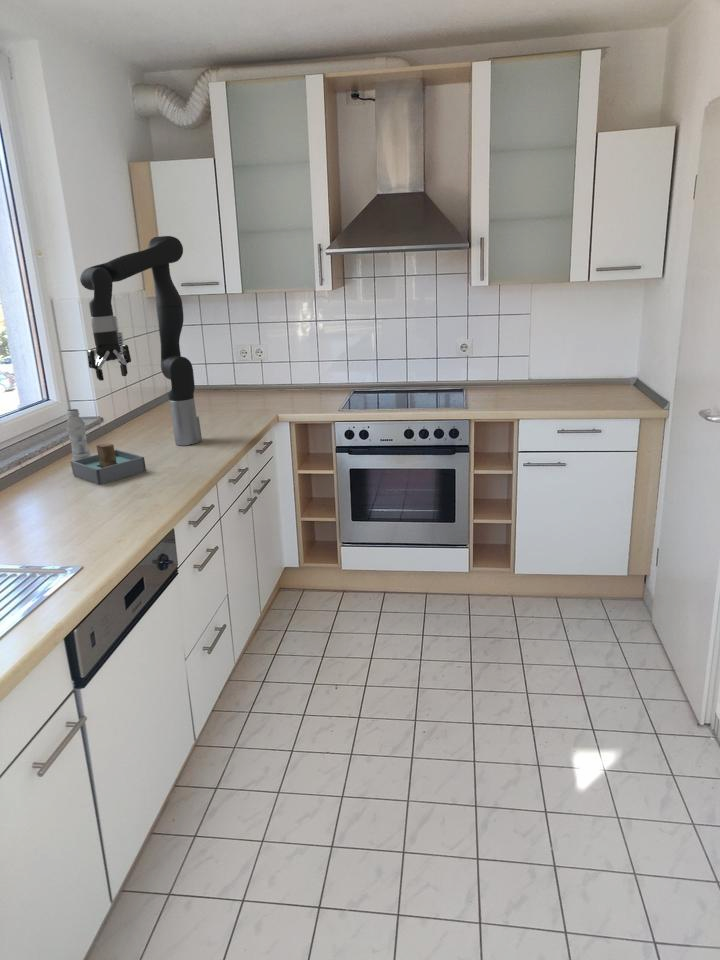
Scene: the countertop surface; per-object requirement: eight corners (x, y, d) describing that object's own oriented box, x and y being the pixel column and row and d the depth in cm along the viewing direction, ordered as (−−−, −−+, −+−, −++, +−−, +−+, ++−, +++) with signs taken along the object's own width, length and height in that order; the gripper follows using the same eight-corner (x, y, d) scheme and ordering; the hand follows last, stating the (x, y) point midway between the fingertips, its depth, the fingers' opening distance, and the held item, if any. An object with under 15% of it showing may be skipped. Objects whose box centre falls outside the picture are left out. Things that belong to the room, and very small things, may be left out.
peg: (112, 471, 241) (107, 442, 238) (118, 473, 238) (113, 444, 235) (101, 474, 238) (96, 445, 235) (107, 476, 236) (102, 447, 233)
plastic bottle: (72, 469, 246) (61, 413, 240) (74, 464, 252) (64, 409, 246) (92, 466, 247) (81, 411, 241) (93, 461, 254) (83, 407, 247)
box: (119, 463, 250) (116, 449, 248) (146, 471, 238) (143, 457, 237) (73, 475, 238) (70, 461, 237) (99, 484, 226) (96, 470, 225)
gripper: (118, 327, 243) (126, 374, 248) (79, 332, 233) (88, 380, 238) (129, 327, 238) (137, 375, 243) (90, 333, 228) (98, 382, 233)
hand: (112, 378), depth 241 cm, fingers open, 8 cm apart
